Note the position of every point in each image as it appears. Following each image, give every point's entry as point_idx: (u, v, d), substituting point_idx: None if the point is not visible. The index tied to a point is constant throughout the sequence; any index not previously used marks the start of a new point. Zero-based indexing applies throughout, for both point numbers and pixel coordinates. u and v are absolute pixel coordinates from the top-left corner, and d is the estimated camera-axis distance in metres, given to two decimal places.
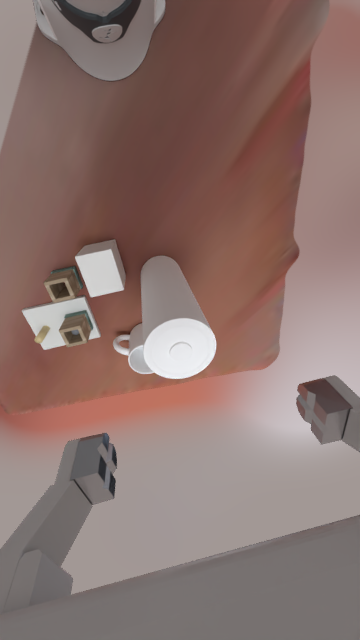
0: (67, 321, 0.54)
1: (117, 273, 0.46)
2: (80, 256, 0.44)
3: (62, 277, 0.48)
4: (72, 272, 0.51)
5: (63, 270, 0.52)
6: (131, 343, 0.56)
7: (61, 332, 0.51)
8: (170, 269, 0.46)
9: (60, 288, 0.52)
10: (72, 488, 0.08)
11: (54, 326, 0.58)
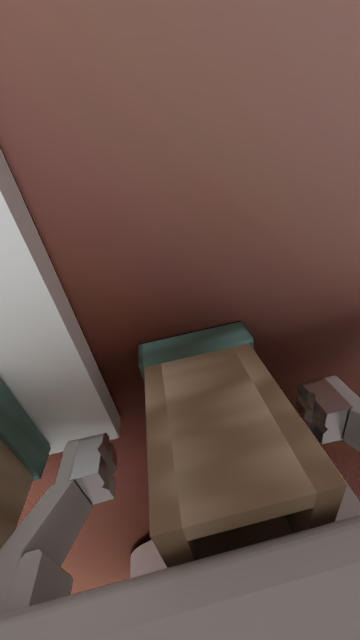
0: None
1: None
2: None
3: None
4: None
5: None
6: None
7: None
8: None
9: None
10: (72, 488, 0.08)
11: None
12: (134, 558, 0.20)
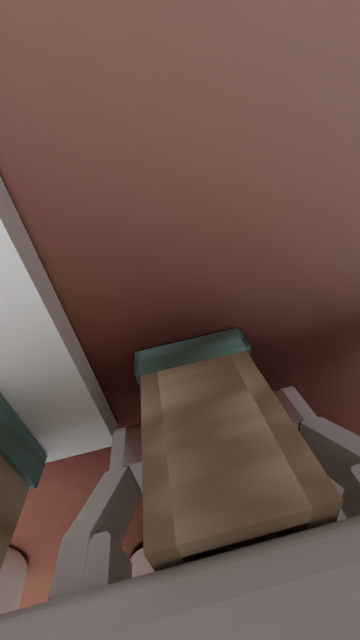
0: None
1: None
2: None
3: None
4: None
5: None
6: None
7: None
8: None
9: None
10: (127, 474, 0.08)
11: None
12: (133, 562, 0.20)
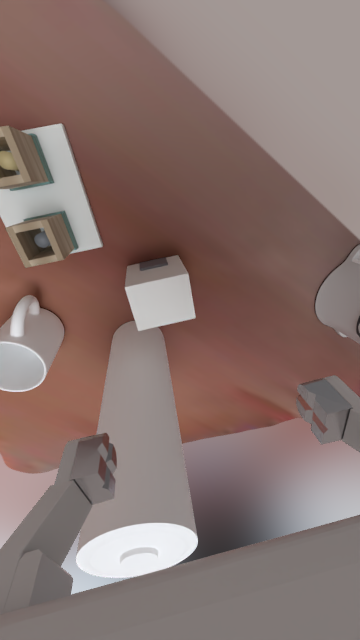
0: (59, 224, 0.29)
1: (162, 324, 0.33)
2: (188, 280, 0.31)
3: (29, 170, 0.24)
4: (42, 182, 0.28)
5: (42, 161, 0.28)
6: (33, 331, 0.33)
7: (42, 223, 0.26)
8: None
9: (0, 147, 0.26)
10: (72, 488, 0.08)
11: None
12: (113, 336, 0.43)
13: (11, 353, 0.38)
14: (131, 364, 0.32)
